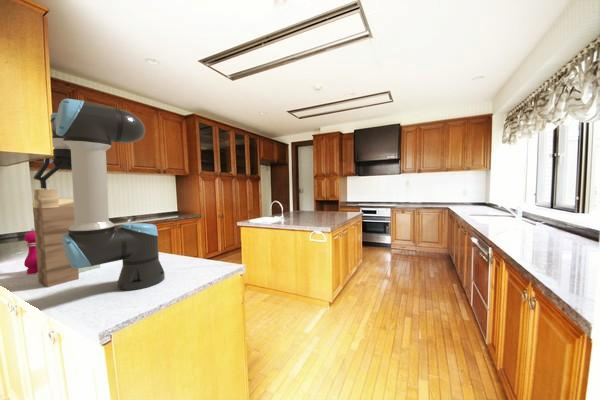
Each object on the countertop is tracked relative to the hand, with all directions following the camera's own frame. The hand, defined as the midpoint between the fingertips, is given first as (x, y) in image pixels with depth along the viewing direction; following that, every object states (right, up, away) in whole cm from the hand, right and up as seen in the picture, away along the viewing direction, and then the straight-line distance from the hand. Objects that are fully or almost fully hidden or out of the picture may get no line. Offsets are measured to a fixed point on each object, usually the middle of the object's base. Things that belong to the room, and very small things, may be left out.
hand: (68, 195), depth 106 cm
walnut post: (+9, -35, -13) cm, 38 cm away
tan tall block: (+11, -4, -10) cm, 16 cm away
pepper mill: (-13, -35, -1) cm, 37 cm away
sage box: (+7, -34, -1) cm, 35 cm away
